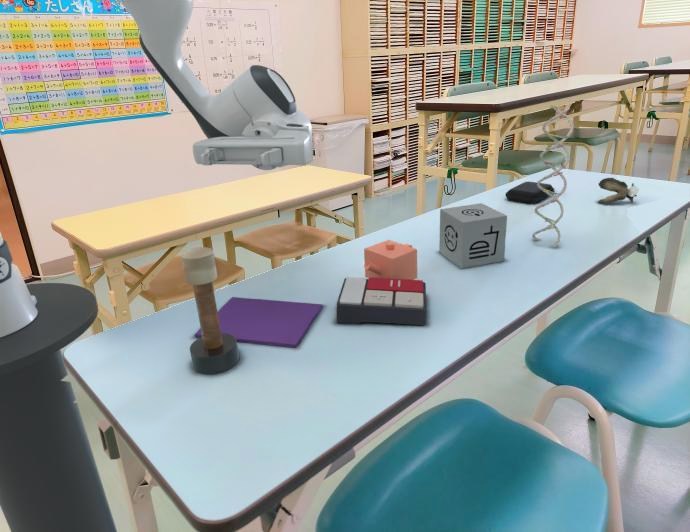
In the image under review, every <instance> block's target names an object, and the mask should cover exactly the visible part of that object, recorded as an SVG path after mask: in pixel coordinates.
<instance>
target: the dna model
mask: <svg viewBox="0 0 690 532" xmlns="http://www.w3.org/2000/svg"><path fill="white" fill-rule="evenodd" d="M549 107H550V108H551V109H553V110H554V111H555V112H557V114H555V116H553V117H550V118H549V119H548V120H547V121H545V122H544V123H543V124H542V129H541V130H542V132H543V133H544V134H545V135H546V136H547V137H549V139H551V140H553V143H554V144H553V145H551V146H550V147H549V146H548V148H547V147H546V148H545V150H543V151H542V152H540V154H539V159H540V161H541V162H542V163H543V164H544V165H545V166H548V167H549V168H550V169H552V170H553V172H551V173H549V174H547V175H545V176H544V177H542V178H540V179H539V180H536V182H537V186H538V188H540V189H541V190H542V191H544V192H545V193H547V194H548V195H547V196H549V197H551V198H550V199H549V200H548V201H545V202H543V203H541V204H539V205H537V206H536V207H534V213H535V214H536V215H537V216H539V217H540V218H542V219H543V220H544V222H545V223H549V225H547V226H545V227H543V228H540V229H538V230H537V231H535V232H533V233H532V235H531V236H532V238H533V240H535V241H538V240H539V238H538V237H536V235H538V234H540V233H543V232H546V231H550V230H552V229H554V230H555V231H556V233H557V240H556V242H554V243H555V244H553V248H554V249H555V248H557V246H558V245H559V244H560V242H561V238H562V235H561V232H560V228H559V227H558V226H557V223H559V222H560V220H561V219H562V218H563V216H564V212H565V211H564V210H565V209H564V205H563V204H562V202H561V201H560V200H559V198H560V197H561V196H562V195H563V194H565V192H566V190H567V185H568V182H567V179H566V177H565V176H564V174H563V171H562V170H563V169H564V168H566V166H567V165H568V163H570V158H571V154H570V151H569V149H568V148H567V147H566V145H565V144H564V143H563V142H565V141H566V140H567V139H569V138H570V137H571V135H572V133H573V132H574V123H573V120H572V119H571V118H570V116H568V115H567V114H566V112H568V111H570V109H571V107H570V106H568V107H567V108H565V109H563V110H561V109H559V108H557V107H556V106H554V105H553V104H550V106H549ZM559 119H560V120H561V119H566V121H567V122H568V124H569V126H570V129H569V131H568V133H567V135H565V136H562V135H557V134H552V133H549V132H548V131H547V130H546V127H547V126H548V125H549V124H550V123H552V122H553V121H557V120H559ZM556 137H557V138H556ZM558 138H561V140H558ZM558 148H563V150H564V152H565V153H566V155H567V158H566V159H565V161H564V163H563V164H562V165H560V164H554V165H553V162H548V161H546V160H545V159H544V157H543V156H544V155H545V154H546V153H548V152H550V151H551V150H555V149H558ZM557 167H558V168H557ZM557 176H560V178H561V179H562V180H563V187H562V189H561V191H560V192H556V191H555V192H552V191H551V193H549V192H550V191H549V190H546V189H544V188H543V187H541V186H540V183H543V181H545V180H548V179H551V178H553V177H557ZM552 193H554V194H552ZM553 203H557V204H558V205H559V209H560V214H559V216H558V217H557V218H556V220H554V219H551V218H549V217H546V216H545V215H543V214H542V213H540V212H539V211H538V210H539V209H540V208H541V209H542V208H545V207H546V206H548V205H550V204H553Z"/></svg>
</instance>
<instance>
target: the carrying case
mask: <svg viewBox="0 0 690 532" xmlns="http://www.w3.org/2000/svg"><path fill="white" fill-rule="evenodd" d="M537 183H538V182H537V181H524V182H522V183H519V184H518V185H515V186H514V187H512V188H510V189H509V190H507V192H505V194H504V195H505V198H506V199H507V200H509V201H513V202H520V203H527V204H535V203H537V202H539V201H541V200H542V199H544V198H546V197H547V196H549V195H548V194H547V193H545V192H544V191H542V190H541V189H540V188H538V186H537ZM540 186H541V187H543V188H544V189H546V190H549V191H550V192H549V193H551V191H552V192H555V193H556V189H555V188H554V187H553V186H552V184H550V183H545V182H540ZM551 194H552V195H555V194H554V193H551Z"/></svg>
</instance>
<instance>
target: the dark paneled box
mask: <svg viewBox="0 0 690 532" xmlns="http://www.w3.org/2000/svg"><path fill="white" fill-rule="evenodd" d="M426 287H427V283H426V282H424V280H423V279H413V280H408V279H390V278H367V277H355V276H354V277H351V276H348V277H345V278H344V279H343V282H342V285H341V288H340V292H339V294H338V298H337V301H336V323H338V324H351V325H359V324H362V323H364V322H365V323H366V322H367V323H382V324H396V325H397V324H400V325H414V326H425V325H426V320H427V293H426V292H427V290H426V289H427V288H426Z"/></svg>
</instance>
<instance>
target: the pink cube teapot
mask: <svg viewBox="0 0 690 532" xmlns="http://www.w3.org/2000/svg"><path fill="white" fill-rule="evenodd" d="M363 258H364V265H363V268H364V278H366V279H369V278H390V279H408V280H417V278H418V249H417V248H414V247H413V245H412V244H410V243H404V244H403V243H399V242H397V241H393V240H390V239H387V240H383V241H382V242H379V243H376V244H373V245H371V246H368V247H365V248H363Z"/></svg>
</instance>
